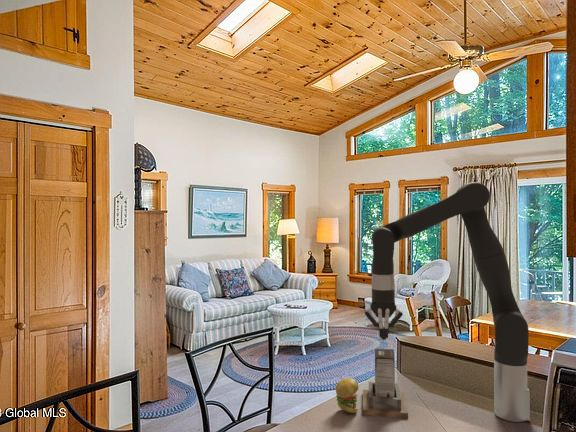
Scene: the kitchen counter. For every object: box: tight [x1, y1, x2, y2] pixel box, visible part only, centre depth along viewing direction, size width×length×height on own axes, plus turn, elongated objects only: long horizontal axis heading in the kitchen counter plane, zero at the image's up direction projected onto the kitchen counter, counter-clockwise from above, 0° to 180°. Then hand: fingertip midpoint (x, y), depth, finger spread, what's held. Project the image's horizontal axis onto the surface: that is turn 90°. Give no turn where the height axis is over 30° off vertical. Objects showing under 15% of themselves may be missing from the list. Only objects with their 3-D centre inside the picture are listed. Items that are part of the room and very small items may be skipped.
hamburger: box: [335, 375, 359, 414], centre depth 138 cm, size 8×7×12 cm
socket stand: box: [362, 381, 409, 419], centre depth 143 cm, size 14×16×5 cm
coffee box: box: [374, 348, 396, 398], centre depth 143 cm, size 9×6×16 cm
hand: (383, 339), depth 143 cm, fingers closed
